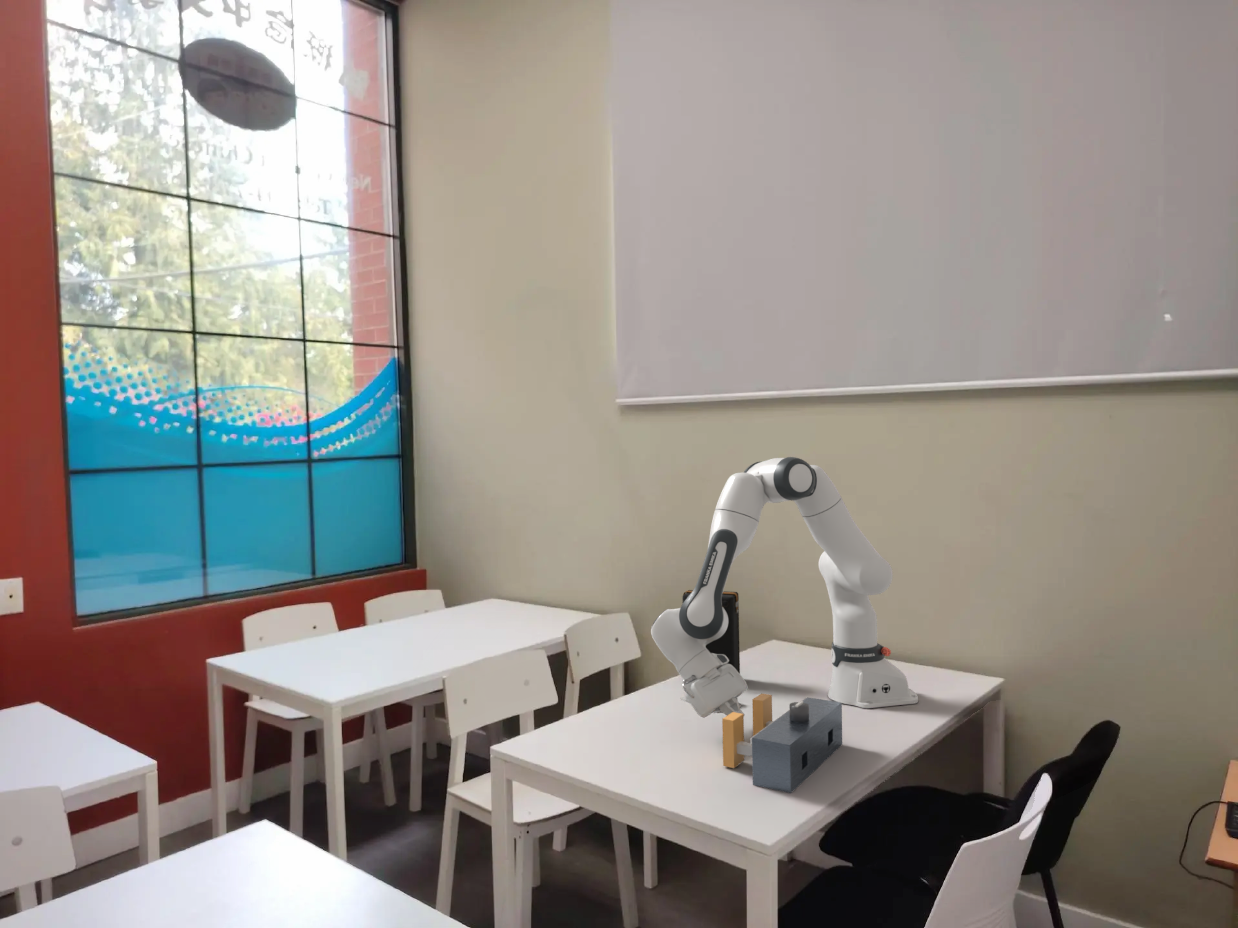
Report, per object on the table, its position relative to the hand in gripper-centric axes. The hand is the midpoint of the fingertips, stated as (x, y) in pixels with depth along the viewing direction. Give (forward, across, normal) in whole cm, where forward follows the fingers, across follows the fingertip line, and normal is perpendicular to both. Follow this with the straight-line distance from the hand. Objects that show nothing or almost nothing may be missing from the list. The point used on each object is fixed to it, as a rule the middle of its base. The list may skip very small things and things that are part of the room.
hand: (740, 719), depth 200 cm
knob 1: (+11, -15, -5) cm, 19 cm away
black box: (-16, +38, +22) cm, 47 cm away
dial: (+9, -8, -16) cm, 20 cm away
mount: (+15, -8, -9) cm, 19 cm away
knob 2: (+11, 0, -5) cm, 12 cm away
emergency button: (-9, +20, +16) cm, 28 cm away
